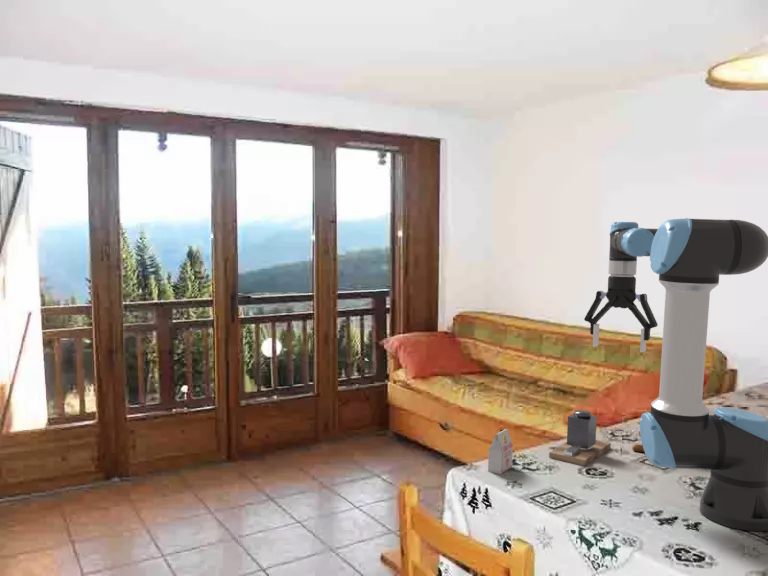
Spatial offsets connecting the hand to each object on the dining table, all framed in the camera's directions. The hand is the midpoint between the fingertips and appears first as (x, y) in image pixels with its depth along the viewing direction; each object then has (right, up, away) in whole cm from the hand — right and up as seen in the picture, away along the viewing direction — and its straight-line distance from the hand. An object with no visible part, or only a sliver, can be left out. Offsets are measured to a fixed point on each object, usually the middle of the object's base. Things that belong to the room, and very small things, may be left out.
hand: (618, 348), depth 189 cm
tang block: (-13, -29, -5) cm, 32 cm away
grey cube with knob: (-12, -26, -5) cm, 30 cm away
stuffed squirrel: (+11, -30, -5) cm, 32 cm away
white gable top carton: (-38, -30, -19) cm, 52 cm away
